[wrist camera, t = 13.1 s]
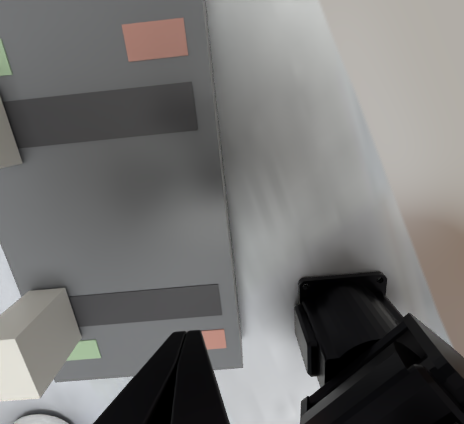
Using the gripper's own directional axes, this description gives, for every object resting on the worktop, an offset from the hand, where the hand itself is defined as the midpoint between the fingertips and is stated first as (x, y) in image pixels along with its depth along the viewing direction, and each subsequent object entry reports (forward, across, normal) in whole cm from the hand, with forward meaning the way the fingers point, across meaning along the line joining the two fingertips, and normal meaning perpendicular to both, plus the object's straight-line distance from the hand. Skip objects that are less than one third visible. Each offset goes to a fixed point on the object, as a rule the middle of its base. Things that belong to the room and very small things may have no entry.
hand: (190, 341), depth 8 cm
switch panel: (+12, +6, -1) cm, 13 cm away
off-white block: (+9, +11, +5) cm, 15 cm away
